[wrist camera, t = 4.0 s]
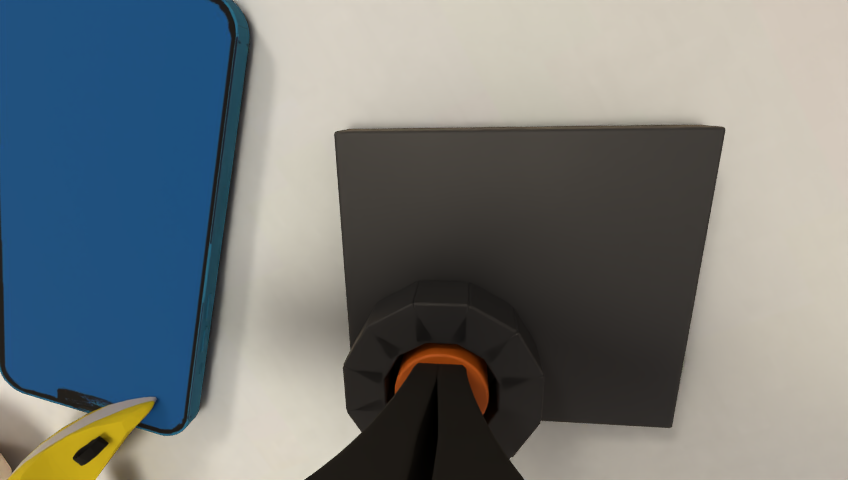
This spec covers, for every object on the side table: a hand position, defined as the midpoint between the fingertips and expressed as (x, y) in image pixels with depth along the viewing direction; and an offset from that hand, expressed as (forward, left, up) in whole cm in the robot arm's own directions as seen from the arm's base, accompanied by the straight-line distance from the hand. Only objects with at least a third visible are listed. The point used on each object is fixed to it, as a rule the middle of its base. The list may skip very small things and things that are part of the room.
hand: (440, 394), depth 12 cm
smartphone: (+11, -4, -3) cm, 12 cm away
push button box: (-2, -2, -3) cm, 4 cm away
